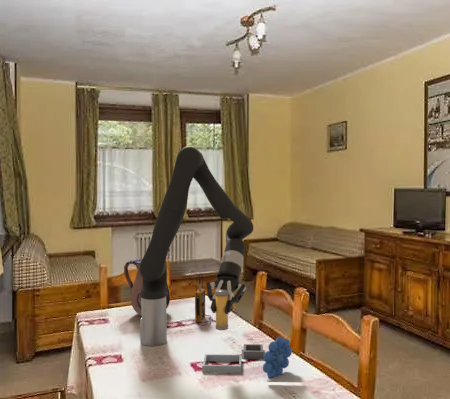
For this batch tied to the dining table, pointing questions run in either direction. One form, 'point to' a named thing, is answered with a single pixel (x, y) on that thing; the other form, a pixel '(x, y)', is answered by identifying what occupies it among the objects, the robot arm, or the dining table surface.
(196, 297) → the multimeter
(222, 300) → the cylinder
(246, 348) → the socket block
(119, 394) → the dining table surface
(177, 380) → the dining table surface
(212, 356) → the tray
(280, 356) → the grapes
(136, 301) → the ceramic pitcher
